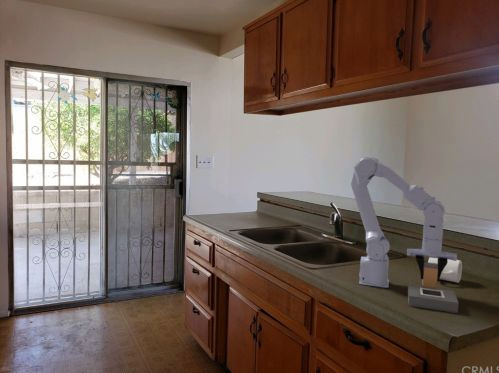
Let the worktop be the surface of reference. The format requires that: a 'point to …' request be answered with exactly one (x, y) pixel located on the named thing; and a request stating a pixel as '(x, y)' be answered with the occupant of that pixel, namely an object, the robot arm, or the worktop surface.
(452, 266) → the mug
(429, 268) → the plug
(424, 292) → the socket block
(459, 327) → the worktop surface
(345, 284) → the worktop surface
